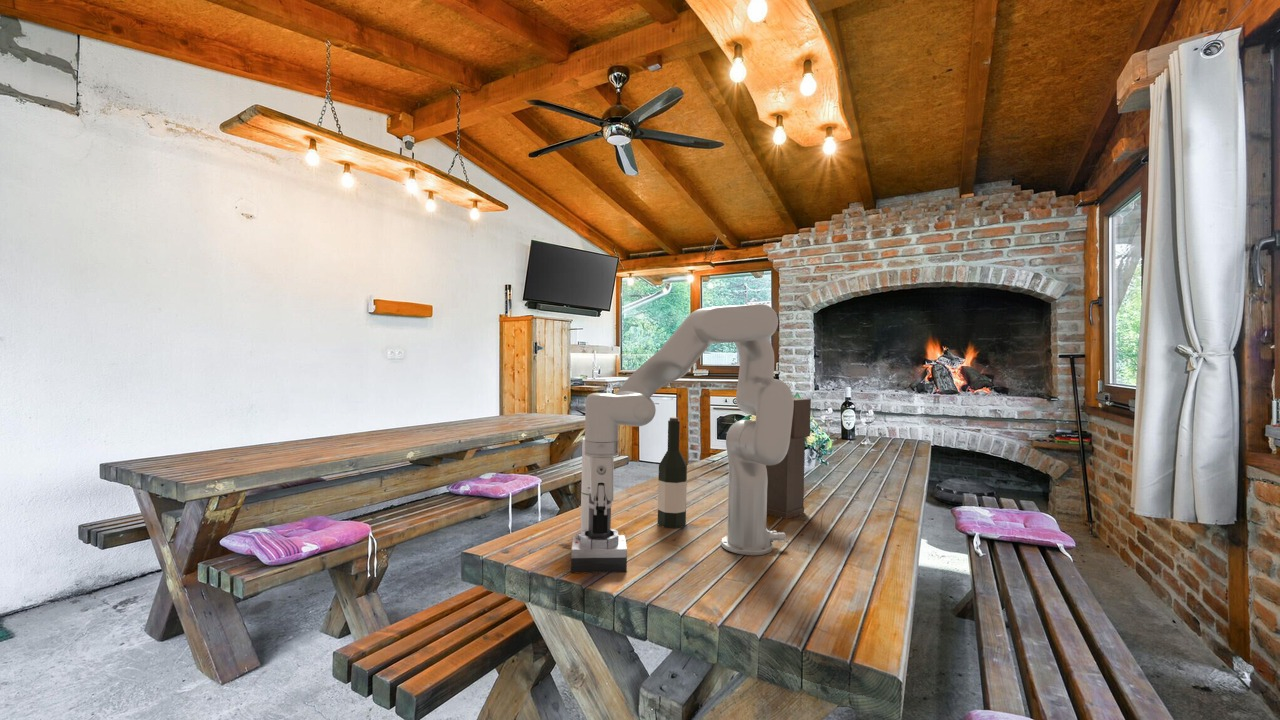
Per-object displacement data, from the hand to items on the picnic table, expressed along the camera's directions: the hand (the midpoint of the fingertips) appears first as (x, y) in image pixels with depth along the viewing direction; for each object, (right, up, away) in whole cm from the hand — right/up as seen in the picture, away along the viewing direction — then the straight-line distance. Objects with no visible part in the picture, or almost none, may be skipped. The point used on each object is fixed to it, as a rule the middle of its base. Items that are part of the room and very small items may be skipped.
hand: (599, 528), depth 119 cm
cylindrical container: (-3, -8, +22) cm, 24 cm away
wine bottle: (+18, -9, +31) cm, 37 cm away
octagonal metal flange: (0, -8, 0) cm, 8 cm away
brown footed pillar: (+51, -9, +48) cm, 70 cm away
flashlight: (0, -2, 0) cm, 2 cm away
